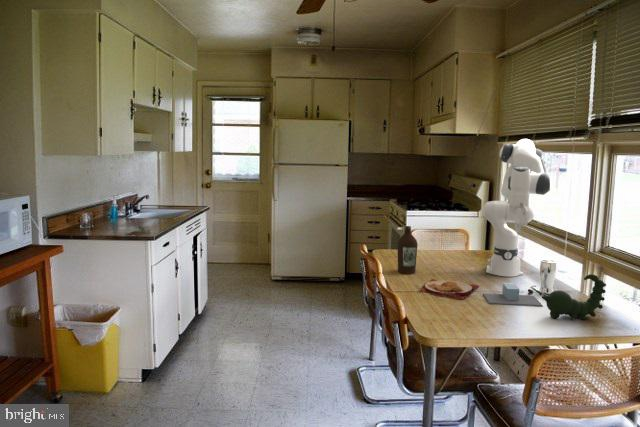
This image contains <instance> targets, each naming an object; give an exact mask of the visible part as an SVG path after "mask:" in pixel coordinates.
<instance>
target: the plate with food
mask: <svg viewBox="0 0 640 427" xmlns="http://www.w3.org/2000/svg"><path fill="white" fill-rule="evenodd" d="M479 287H480V284H474V283H473V284H469V283H465V282H462V281H456V280H450V279H449V280H448V279H447V280H446V279H444V280H441V279H440V280H437V279H433V278H431V279H430V281H429V282H426V283H424V284H423V285H422V286H421V288H419V287H418V293H422V294H423V293H425V294H430V295H431V296H433V295H434V296H435V297H436V296H437V297H440V296H441V297H442V296H444V295H446V297H447V298H449V299H450V298H451V299H453V300H455V299H461V300H465V299H467V298H469V296H470V295H471V294H473V292H475V291H476V289H478V288H479ZM423 288H424V289H423ZM432 294H433V295H432ZM442 298H443V297H442Z"/></svg>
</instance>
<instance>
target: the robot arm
mask: <svg viewBox="0 0 640 427" xmlns="http://www.w3.org/2000/svg"><path fill="white" fill-rule="evenodd" d="M534 143H535V142H534V141H532V140H531V139H528V138H522V139H520V140H518V141H517V142H516V144H513V143H505V144H503V145H502V147H501V148H500V151H499V160H500V161H501V162H503V163H505V164H510V165H509V167H508V168H507V169H506V171H505V174H504V178H503V181H502V185H501V190H500V192H501V195H502V196H503V198H504V199H505V200H506V201H505V200H491V201H490V200H489V201H487V202H485V204H484V205H483V208H482V215H483V217H484V218H485V219H486V220H487V221H488V222H489V223H490V224H491V225H492V227H493V230H494V238H495V240H494V242H495V243H494V248H493V254H492V256H491V258H489V259H487V264H488V265H486V269H485V270H486V271H485V272H486V273H487V274H491V275H494V276H500V277H509V278H510V277H518V276H522V275H524V272H523V271H521V259H520V258H519V257H518V254H519V249H518V237H519V236H518V233H521V229H522V226H527V225H528V223H530V222H531V221H532V220H533V219H534V218H535V215H536V214H535V208H534V206H533V205H532V204H531V203H530V202H531V194H532V195H534V194H535V195H541V196H543V195H546V194H547V193H549V192H550V190H551V187H552V180H551V177H550V174H549V173H548V171H547V166H546V165H545V162H544V153H543V150H541V149H539V148H536V146H535V144H534ZM532 172H533V173H532ZM507 223H514V229H513V228H512V227H509V226H508V225H507Z"/></svg>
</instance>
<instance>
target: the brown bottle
mask: <svg viewBox="0 0 640 427" xmlns="http://www.w3.org/2000/svg"><path fill="white" fill-rule="evenodd" d="M397 240H398V241H397V245H396V246H397V248H396V249H397V272H398V273H399V274H403V275H413V273H414V274H415V273H416V270H417V268H416V267H417V258H418V257H417V256H418V254H417V253H418V241H417V239H416V237H415V236H414V235H413V234H412V226H410V225H405V226H404V233H403V234H402V235H401V237H399V238H398V239H397Z"/></svg>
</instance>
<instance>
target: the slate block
mask: <svg viewBox="0 0 640 427" xmlns="http://www.w3.org/2000/svg"><path fill="white" fill-rule="evenodd" d="M501 290H502V291H501V294H503V295H504V297H505V298H506V299H507V300H519V295H520V288H519V287H518V286H517V285H516V284H515V283H514V282H502V288H501Z"/></svg>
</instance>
